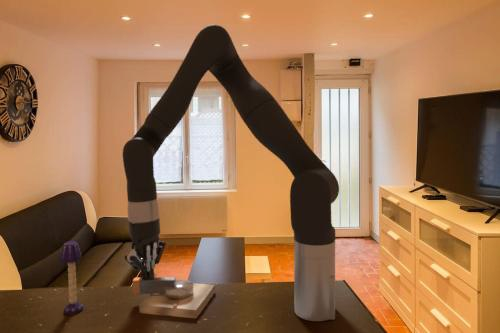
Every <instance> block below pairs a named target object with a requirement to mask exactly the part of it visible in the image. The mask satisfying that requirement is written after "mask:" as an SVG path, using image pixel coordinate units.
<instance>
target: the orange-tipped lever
mask: <svg viewBox="0 0 500 333" xmlns="http://www.w3.org/2000/svg"><path fill="white" fill-rule="evenodd" d="M151 294H165V297H167V298H169V299H184V298H187V297H189V296H191V295H192V294H193V281H191V280H189V279H188V280H187V279H176V277H174V276H172V277H169V276H165V277H162V276H161V277H158V276H157V277H154V278H142V276H140V277H138V276H137V277H134V278H133V280H132V295H151Z"/></svg>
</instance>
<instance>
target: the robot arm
mask: <svg viewBox="0 0 500 333" xmlns="http://www.w3.org/2000/svg"><path fill="white" fill-rule="evenodd" d="M232 40H233V39H232V37H231V36H230V34H229V32H228V31H227V29H226V28H224V27H223V26H221V25H218V24H210V25H208V26H205V27H203V28H202V29H201V30H200V31H199V32H198V33H197V35H196V37H195V38H194V40H193V41H192V43H191V46H190V47H189V49H188V51H187V53H186V55H185V57H184V59H183V60H182V63H181V64H180V67H179V68H178V70H177V71H176V74H175V75H174V77H173V79H172V81H171V82H170V83H169V85H168V87H166V90H165V91H164V93H163V94H162V95H161V97H160V98H159V100H158V101H157V102H156V104H154V106H153V107H152V108H151V110H150V112H149V113H148V114H147V115H146V116H145V117H146V118H145V119H144V122H143V124H142V125H141V126H140V128H139V129H138V130H137V131H136V132H135V134H134V135H133V137H132V138H131V139H129V140H128V141H127V142H126V143H125V144H124V145H123V148H122V162H123V168H124V173H125V177H126V192H127V193H126V195H127V222H128V223H127V224H128V233H129V234H128V235H129V238H130V240H131V245H130V246H131V250H130V252H129V254H125V255H124V260H125V261H126V262H127V263H128V264H129V265H130V266H131V267H132V268H133V269H134V271H140V272H141V278H155V271H154V269H155V267H156V265H159V263H160V261H161V258H162V256H163V252H164V251H165V247H166V244H167V243H166V241H162V240H160V237H159V236H160V234H161V223H160V208H159V203H158V193H157V183H156V179H155V174H154V157H155V155H156V154H157V152H158V151H159V149H160V148H161V147H162V145H163V144H164V142H165V140H167V139H166V138H168V137H169V135H171V134H172V133H173V131H174V130H175V129H176V127H177V126H178V125H179V123H180V122H181V121H182V119H183V117H184V116H185V115H186V113H187V111H188V109H189V107H190V105H191V104H192V103H191V102H192V99H193V97H194V94H195V92H196V90H197V88H198V86H199V84H200V82H201V80H202V79H203V78H204V76H205V75H206V74H207V72H209V73H211V75H212V76H214V78H215V79H216V80H217V81H218V82H219V83H220V85H221V86H222V87H223V89H224V90H225V91H226V92H227V94H228V96H229V97H230V99H231V101H232V103H233V106H234V107H235V110H236V111H237V113H238V115H239V117H240V119H241V120H242V122H244V124H245V125H246V127H247V129H249V131H250V133H251V134H252V135H253V137H254V138H255V139H256V140H257V141H258V142H259V143H260V145H262V146H263V147H264V148H266V149H267V150H268V151H269V152H270V153H272V154H273V156H275V157H277V158H278V159H279V160H280V161H281V162H282V163H283V164H284V165H285V166H286V167H287V169H288V170H289V171H290V173H291V174H292V176H293V180H292V181H291V185H290V190H289V205H290V206H289V207H290V208H289V210H290V225H291V229H292V231H293V237H294V238H293V240H294V241H293V248H294V250H293V251H294V252H293V255H294V256H293V259H294V261H293V263H294V266H293V268H294V269H293V273H294V274H293V275H294V276H293V279H294V281H293V282H294V283H293V284H294V288H293V289H294V290H293V291H294V297H293V298H294V301H293V304H294V305H293V306H294V313H295V314H296V316H297V317H299V318H300V319H302V320H304V321H305V320H306V321H310V322H324V321H328V320H333V321H334V320H335V319H336V229H335V227H334V226H333V224H332V204H334V202H335V201H336V200H337V199H338V197H339V196H338V195H339V193H340V186H339V181H338V179H337V177H336V175H335V174H334V173H333V172H332V170H330V168H328V166H327V165H326V164H325V162H323V161H322V160H321V159H320V158H319V157H318V155H316V153H315V152H314V151H313V150H312V149H311V148H310V146H309V145H308V143H307V141H305V139H304V137H303V136H302V135H301V133H300V132H299V130H298V129H297V127H296V126H295V124H294V123H293V122H292V121H291V119H290V118H289V117H288V115H287V113H286V112H285V111H284V109H283V108H282V106H281V105H280V104H279V102H278V101H277V99H276V98H275V97H274V96H273V95H272V94H271V92H269V90H267V89H266V88H265V86H263V85H262V84H261V83H260V82H259V81H258V80H256V79H255V78H254V77H253V76H252V75H251V74H250V72H249V70H248V68H247V67H246V65H245V64H244V63H243V61H242V59H241V57H240V55H239V54H238V51H237V49H236V45H234V42H233V41H232Z"/></svg>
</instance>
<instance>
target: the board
mask: <svg viewBox="0 0 500 333" xmlns="http://www.w3.org/2000/svg"><path fill="white" fill-rule="evenodd" d="M192 283H193V282H192ZM215 293H216V284H208V283H197V282H196V283H195V282H194V283H193V294H192V295H191V296H189V297H187V298H184V299H169V298H167V297H165V294H148V296H147V297H146V298H145V299H144V300H143V301H141V302H140V304H139V306H138V308H139V314H146V315H157V316H166V317H167V316H169V317H176V318H177V317H179V318H185V319H186V318H189V319H197V318H198V317H199V315H200V314H201V313H202V312H203V310H204V308H205V307H206V306H207V305H208V303H209V301H211V299H212V297H213V296H214V295H215ZM213 294H214V295H213ZM210 298H211V299H210Z"/></svg>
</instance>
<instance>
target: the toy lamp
mask: <svg viewBox="0 0 500 333" xmlns="http://www.w3.org/2000/svg"><path fill="white" fill-rule="evenodd" d="M82 257H83V256H82V252H81V249H80V247H79V244H78V242H77V241H73V240H72V241H71V240H70V241H65V243H63V245H62V248H61V253H60V257H59V261H60V262H61V263H64V264H67V266H68V267H67V272H68V274H67V277H68V296H69V298H68V302H69V303H67V304H66V305H65V307H64V309H63V313H64V314H65V315H77V314H79V313H81V312H82V311H83V310H84V306H83V304H82V302H80V301H78V299H77V295H78V293H77V274H76V262H79V261H81V260H82Z"/></svg>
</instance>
